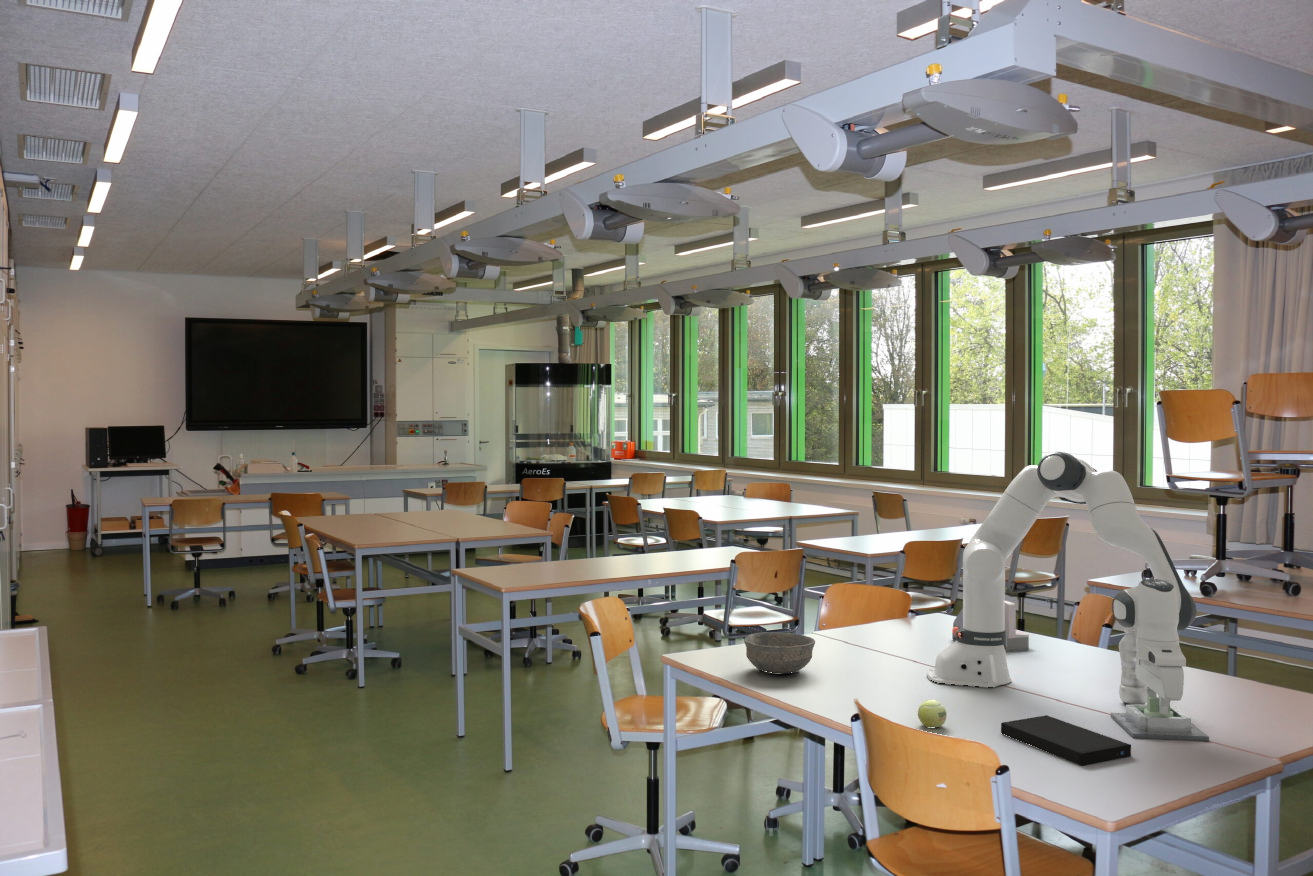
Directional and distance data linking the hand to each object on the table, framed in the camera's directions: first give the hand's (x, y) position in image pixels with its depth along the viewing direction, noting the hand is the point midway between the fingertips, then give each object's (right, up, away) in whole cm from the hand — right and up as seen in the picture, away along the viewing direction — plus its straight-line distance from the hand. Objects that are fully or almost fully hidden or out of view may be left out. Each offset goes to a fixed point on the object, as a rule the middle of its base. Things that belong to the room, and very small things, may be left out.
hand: (1157, 709), depth 222 cm
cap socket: (0, -5, 0) cm, 4 cm away
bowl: (-82, -5, +53) cm, 98 cm away
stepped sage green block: (0, -4, 0) cm, 4 cm away
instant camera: (-9, -4, +88) cm, 89 cm away
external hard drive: (-27, -5, -11) cm, 29 cm away
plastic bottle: (+4, -5, +20) cm, 21 cm away
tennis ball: (-52, -5, +3) cm, 52 cm away
